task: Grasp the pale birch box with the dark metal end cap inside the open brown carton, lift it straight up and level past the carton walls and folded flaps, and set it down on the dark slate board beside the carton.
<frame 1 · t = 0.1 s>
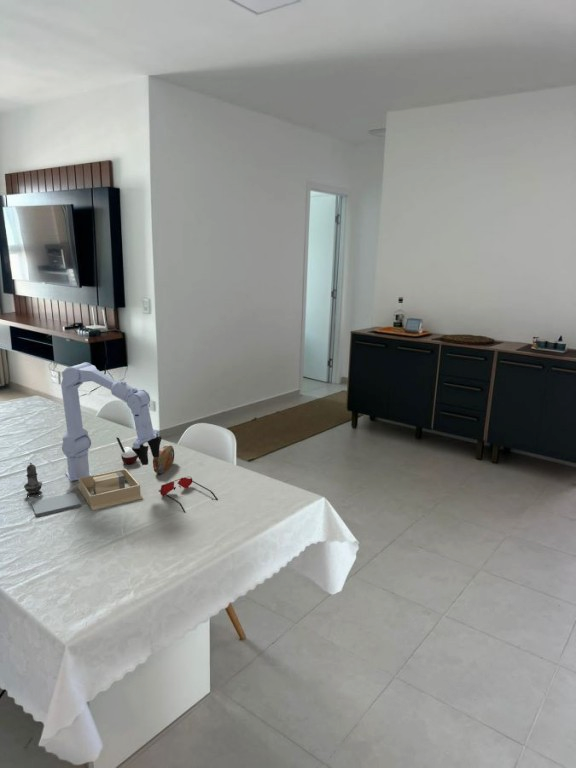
hand: (150, 460, 191), 11 cm above the table, tool pointing down, fingers open, 7 cm apart
glasses: (188, 499, 186), on the table
salt shaker: (34, 494, 187), on the table
capped box: (109, 484, 188), in the carton
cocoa: (129, 463, 215), on the table
tin: (164, 469, 210), on the table
slate board: (56, 505, 179), on the table
carton: (109, 492, 189), on the table
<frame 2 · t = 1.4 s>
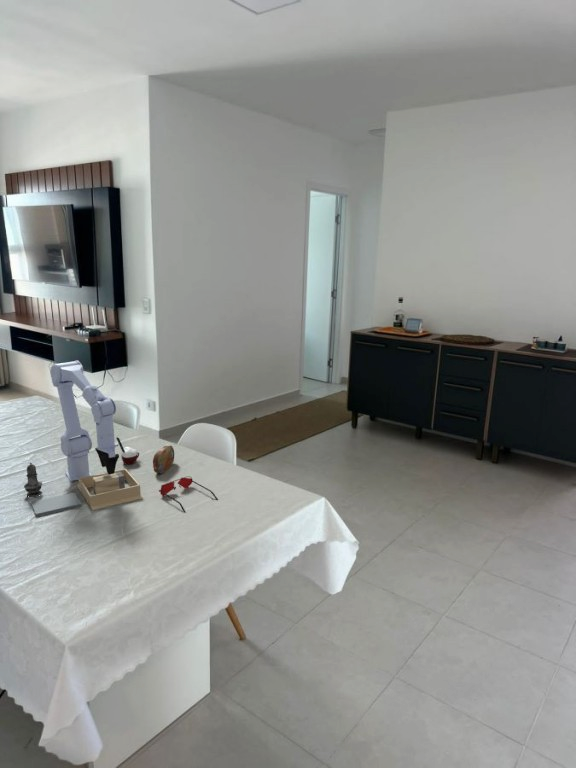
hand: (108, 470, 187), 9 cm above the table, tool pointing down, fingers open, 7 cm apart
nothing on the table moved.
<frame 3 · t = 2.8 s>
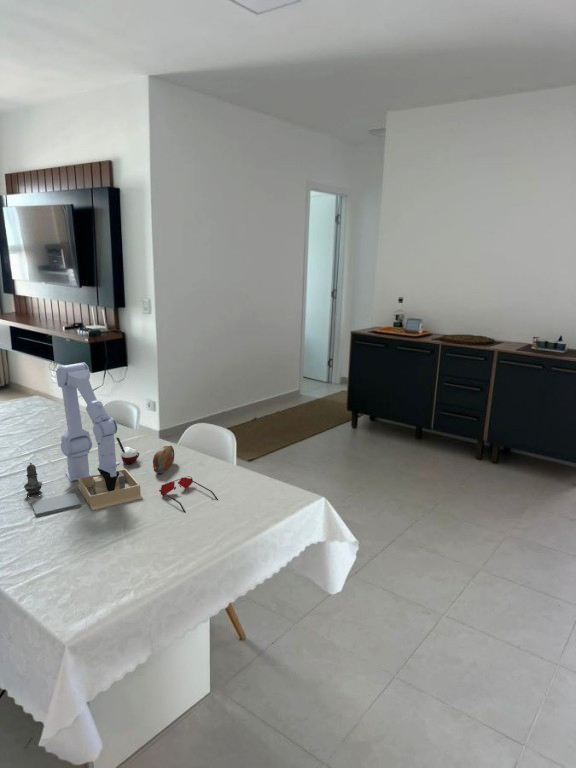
hand: (109, 488, 189), 1 cm above the table, tool pointing down, fingers closed on capped box, 4 cm apart
capped box: (109, 484, 188), in the carton, touching gripper
everything else where it was.
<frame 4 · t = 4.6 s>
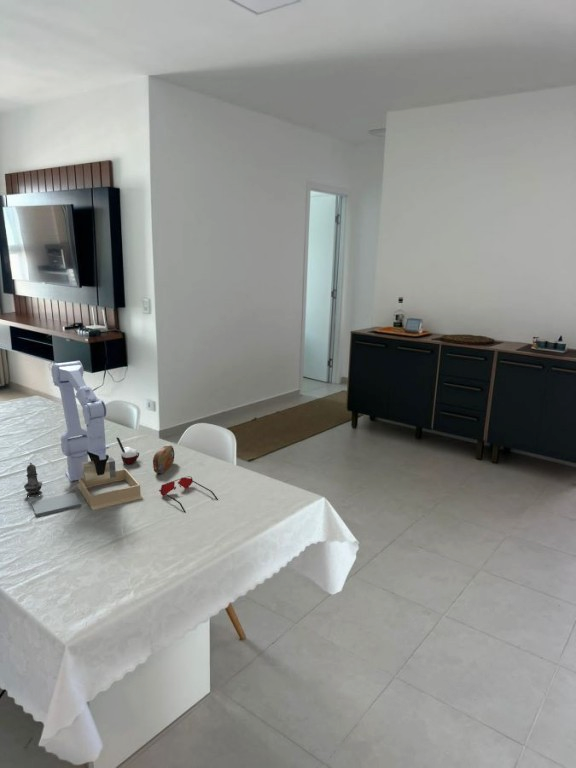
hand: (99, 472, 185), 8 cm above the table, tool pointing down, fingers closed on capped box, 4 cm apart
capped box: (99, 469, 185), point 9 cm above the table, touching gripper
everything else where it was.
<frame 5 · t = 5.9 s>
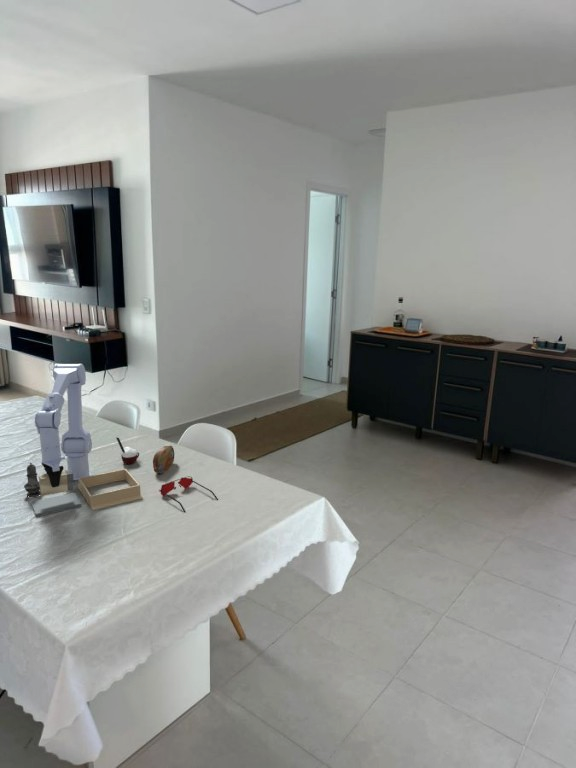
hand: (54, 484, 177), 8 cm above the table, tool pointing down, fingers closed on capped box, 4 cm apart
capped box: (56, 482, 177), point 8 cm above the table, touching gripper
everything else where it was.
when the fingers open (3 cm above the table, at t = 7.0 s): capped box stays where it is, resting on slate board.
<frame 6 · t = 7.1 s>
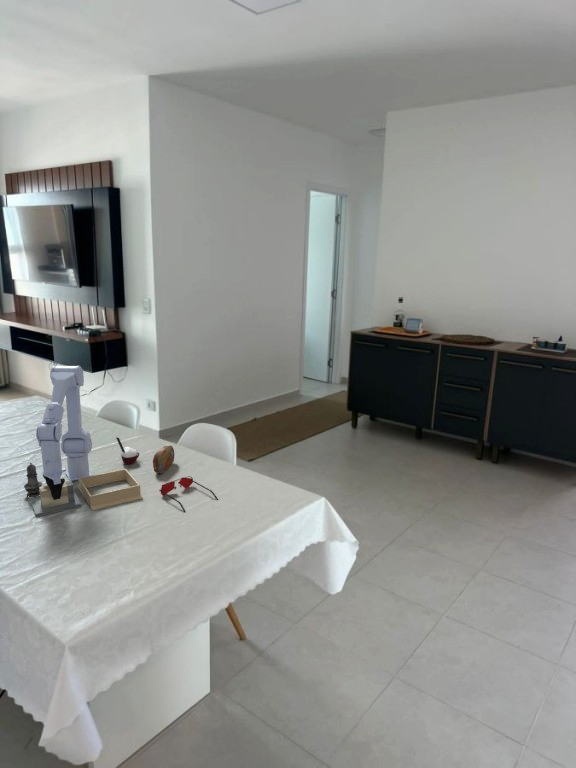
hand: (55, 496, 178), 3 cm above the table, tool pointing down, fingers open, 4 cm apart
capped box: (57, 494, 178), on the slate board, point 4 cm above the table
everything else where it was.
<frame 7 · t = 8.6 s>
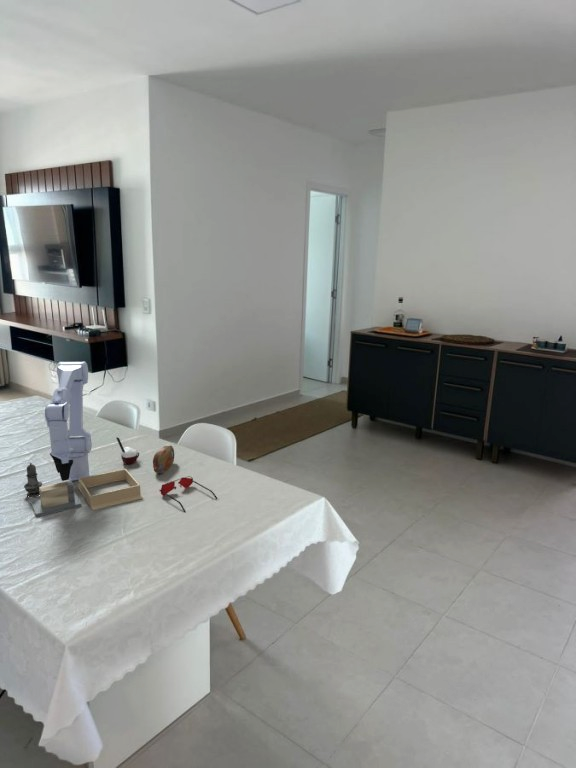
hand: (63, 475, 181), 9 cm above the table, tool pointing down, fingers open, 7 cm apart
nothing on the table moved.
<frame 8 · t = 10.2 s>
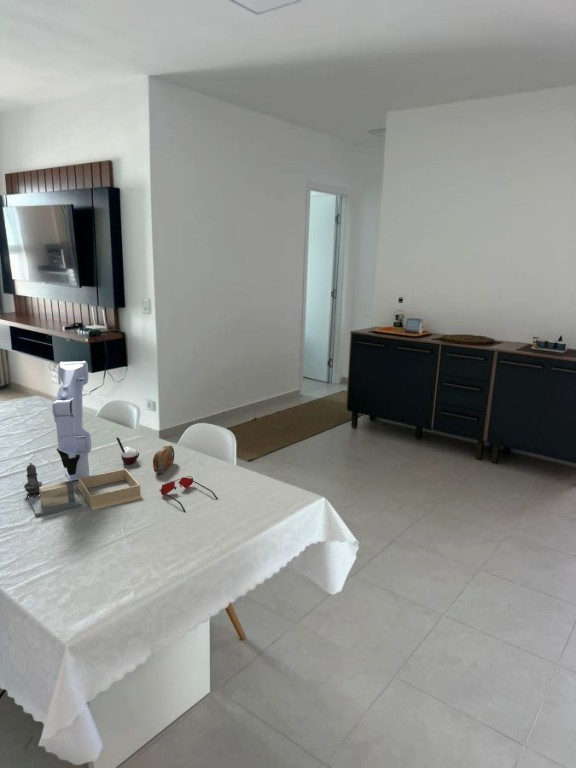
hand: (69, 470, 184), 9 cm above the table, tool pointing down, fingers open, 7 cm apart
nothing on the table moved.
at the end: capped box 0.6 cm off-centre on the slate board, point 4.0 cm above the slate board's base; capped box tilted 0°; the gripper is holding nothing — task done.
